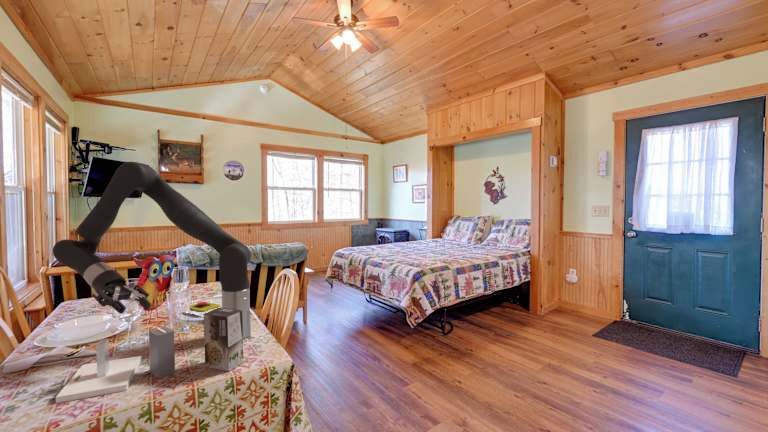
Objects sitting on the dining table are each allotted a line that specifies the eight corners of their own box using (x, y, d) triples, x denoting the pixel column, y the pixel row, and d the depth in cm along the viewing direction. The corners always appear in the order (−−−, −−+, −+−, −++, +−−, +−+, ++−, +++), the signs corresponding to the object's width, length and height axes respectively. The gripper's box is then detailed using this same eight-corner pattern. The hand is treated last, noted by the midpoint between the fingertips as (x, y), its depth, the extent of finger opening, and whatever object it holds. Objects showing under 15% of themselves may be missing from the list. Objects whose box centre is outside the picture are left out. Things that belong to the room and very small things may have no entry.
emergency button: (202, 298, 158) (224, 302, 152) (202, 307, 159) (225, 312, 152) (182, 303, 150) (205, 308, 144) (182, 313, 150) (205, 319, 144)
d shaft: (101, 372, 96) (100, 340, 95) (109, 370, 97) (108, 339, 96) (97, 377, 93) (96, 344, 93) (105, 376, 94) (104, 343, 93)
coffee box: (244, 362, 105) (243, 310, 105) (228, 372, 99) (227, 316, 99) (220, 357, 108) (219, 306, 108) (203, 367, 102) (202, 313, 101)
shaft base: (83, 369, 100) (82, 364, 100) (141, 360, 106) (141, 355, 106) (55, 403, 84) (55, 396, 84) (126, 390, 90) (126, 384, 90)
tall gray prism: (175, 372, 99) (174, 330, 98) (158, 378, 96) (157, 334, 95) (166, 366, 102) (165, 325, 102) (150, 372, 99) (148, 330, 98)
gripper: (87, 269, 104) (121, 301, 100) (131, 268, 117) (162, 296, 113) (74, 291, 104) (107, 323, 100) (119, 287, 118) (150, 315, 113)
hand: (136, 309), depth 106 cm, fingers open, 8 cm apart
